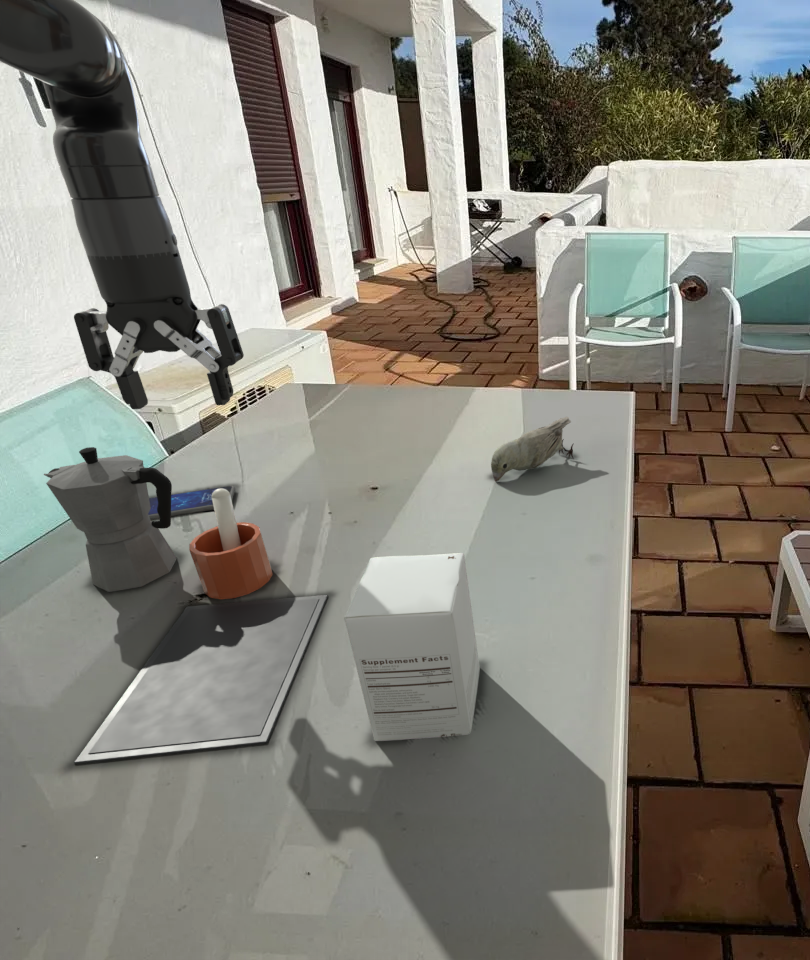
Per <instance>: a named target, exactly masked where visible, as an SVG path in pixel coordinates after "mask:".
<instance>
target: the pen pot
mask: <svg viewBox="0 0 810 960" xmlns="http://www.w3.org/2000/svg"><path fill="white" fill-rule="evenodd" d="M236 523H237V528H238V533H239V537H240V542H241V546H239V547H236V548H234V549H231V550H227V551H223V547H222V542H221V538H220V533H219V529H218V525H217V526H214V527H212V528H210V529H206V530H205V531H203V532H201V533H200V534H198V535H196V536H195V537H194V538H193V539H192V540H191V541H190V543H189V545H188V549H189V550H188V551H189V553H190V555H191V558H192V562H193V564H194V567H195V570H196V573H197V576H198V578H199V582H200V585H201V587H202V590H203V593H204V594H205V596H206V595H207V596H208V597H209V598H211V599H216V600H229V599H236V598H240V597H243V596H247V595H250V594H252V593H254V592H255V591H258V590H259V589H261V588H262V587H263V586H265V585H266V584H267V583H269V581H270V580H271V579H272V577H273V569H272V565H271V562H270V559H269V556H268V552H267V548H266V545H265V542H264V538H263V534H262V531H261V528H260V527H259V526H258V525H257V524H255V523H252V522H245V521H244V522H242V521H241V522H240V521H239V522H236Z"/></svg>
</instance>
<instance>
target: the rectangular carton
mask: <svg viewBox="0 0 810 960" xmlns="http://www.w3.org/2000/svg"><path fill="white" fill-rule="evenodd" d="M343 619H344V623H345V628H346V631H347V635H348V638H349V644H350V647H351V651H352V656H353V659H354V663H355V667H356V671H357V676H358V679H359V684H360V688H361V692H362V697H363V700H364V705H365V709H366V713H367V716H368V717H367V718H368V720H369V724H370V729H371V732H372V738H373V741H374V742H384V741H385V742H387V741H402V740H417V739H429V738H430V739H431V738H445V737H457V736H468V735H470V734H471V733H472V728H473V723H474V717H475V710H476V709H475V708H476V701H477V696H478V695H477V694H478V687H479V678H480V671H481V670H480V669H481V667H480V661H479V659H480V658H479V652H478V644H477V637H476V630H475V624H474V622H475V621H474V616H473V609H472V599H471V594H470V586H469V579H468V572H467V565H466V558H465V553H464V552H453V553H440V554H439V553H438V554H420V555H385V556H376V557H374V556H373V557H370V558H369V561H368V563H367V565H366V568H365V570H364V572H363V575H362V577H361V579H360V580H359V583H358V586H357V587H356V590H355V592H354V594H353V597H352V599H351V602H350V604H349V606H348V608H347V610H346V613H345V615H344V617H343Z"/></svg>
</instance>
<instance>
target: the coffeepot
mask: <svg viewBox="0 0 810 960" xmlns="http://www.w3.org/2000/svg"><path fill="white" fill-rule="evenodd" d="M78 453H79V455H80V456H81V458H82V459H83V460H84V461H82V462H79V463H77V464H70V465H63V466H59V467H57V468H53V469H51V470H49V471H48V473H44V474H43V476H45V477H47V478H49V479H48V481H46V483H45V484H46V486H47V487H48V488H49V490H50V492H51V493H52V494H53V496H54V497H55V499H56V500H57V502H58V503H59V505H60V506H61V507H62V509H63V511H64V512H65V513H66V514H67V516H68V517H69V519H70V521H71V522H72V524H73V525H74V526H75V528H76V529H77V530H79V531H81V532H83V533H84V535H85V539H86V542H85V549H86V554H87V559H88V560H87V561H88V565H89V571H90V574H91V575H90V576H91V581H92V585H93V586H95V587H98V589H100V590H101V589H102V590H103V591H106V592H108V593H111V592H112V593H113V592H117V591H124V590H129V589H130V590H131V589H136V588H141V587H144V586H146V585H147V584H150V583H151V582H154V581H155V580H158V579H159V578H161V577H163V576H165V575H167V574H169V573H170V572H171V570H172V569H173V567H174V564H175V563H176V561H177V559H178V557H177V556H176V554H175V552H174V551H173V549H172V547H171V546H170V544H169V542H168V541H167V539H166V538H165V537H164V535H163V534H162V532H161V531H160V529H161V530H162V529H163V530H164V529H168V528H170V527H171V526H172V516H171V495H172V493H173V490H172V489H173V486H172V481H171V480H170V479H169V478H168V476H166V475H165V474H164V473H162V472H161V471H160V470H159V469H158V468H156V467H145V466H144V460H143V459H139V458H136V457H133V456H131V455H128V454H123V455H116V456H115V455H114V456H106V457H98V451H97V447H93V446H91V447H90V446H89V447H84V448H82V449H80V450H79V451H78ZM147 483H150V484H152V485H153V486H154V487H155V495H156V497H157V500H158V507H157V512H158V514H159V517H160V518H159V520H150V518H149V515H148V513H149V511H150V509H151V507H150V501H149V498H150V496H149V490H148V489H149V488H148V484H147Z"/></svg>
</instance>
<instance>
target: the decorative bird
mask: <svg viewBox="0 0 810 960" xmlns="http://www.w3.org/2000/svg"><path fill="white" fill-rule="evenodd" d="M570 423H572V421H571V419H570V417H569V416H565V417H560V418H559V419H557V420H554V421H553V422H551V423H549V424H548V425H545V426H542V427H538V428H535V429H532V430H530V431H527V432H525V433H523V434H522V435H521V436H519V437H518V438H516V439H514V440H512V441H507V442H505V443H503V444H501V445H500V446H498V447H497V448H496V449H495V450H494V452H493V454H492V457H491V461H490V468H491V475H492V478H493V480H494V482H495V483H497V482H498V481H499V480H500V479H502V478H503V476H505V474H506V473H508V472H509V471H511V470H515V471H519V472H521V471H522V472H523V471H526V470H534V469H537V468H538V467H539V466H541V465H543V463H545V462H546V461H548V460H549V459H551V458H552V457H554V456H555V455H556V453H557V452H558V455H559V456H560V453H562V454H563V455H566V457H568V458H570V457H571V458H572V459H573V460H574V459H575V457H574V456H573V454H574V450H573V446H574V443H572V444H571V445H570V448H569V449H566V448H565V446H564V444H563V443H564V439H565V438H563V432H564V431H563V429H565V427H566V426H568V425H569V424H570ZM564 452H567V453H566V454H564Z"/></svg>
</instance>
